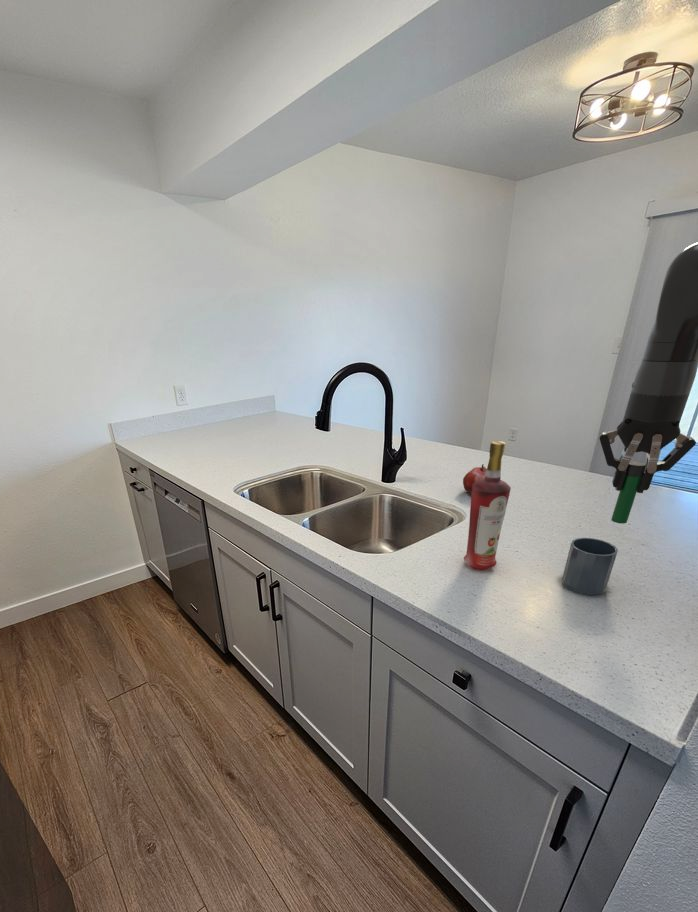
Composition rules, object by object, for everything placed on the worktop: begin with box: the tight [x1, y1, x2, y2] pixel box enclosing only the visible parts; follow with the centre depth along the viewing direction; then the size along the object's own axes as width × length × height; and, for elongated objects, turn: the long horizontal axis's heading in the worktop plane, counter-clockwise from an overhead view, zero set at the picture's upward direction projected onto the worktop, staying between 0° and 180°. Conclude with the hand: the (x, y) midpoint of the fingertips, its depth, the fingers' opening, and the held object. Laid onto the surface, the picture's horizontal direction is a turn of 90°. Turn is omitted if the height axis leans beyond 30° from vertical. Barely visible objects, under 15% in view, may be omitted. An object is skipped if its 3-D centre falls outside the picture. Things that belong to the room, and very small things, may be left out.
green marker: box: [610, 461, 646, 525], centre depth 78 cm, size 3×3×11 cm
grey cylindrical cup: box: [561, 537, 619, 596], centre depth 87 cm, size 8×8×9 cm
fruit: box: [462, 463, 487, 494], centre depth 135 cm, size 9×10×10 cm
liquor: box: [463, 440, 512, 571], centre depth 92 cm, size 7×7×28 cm
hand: (628, 490), depth 78 cm, fingers closed on green marker, 2 cm apart
